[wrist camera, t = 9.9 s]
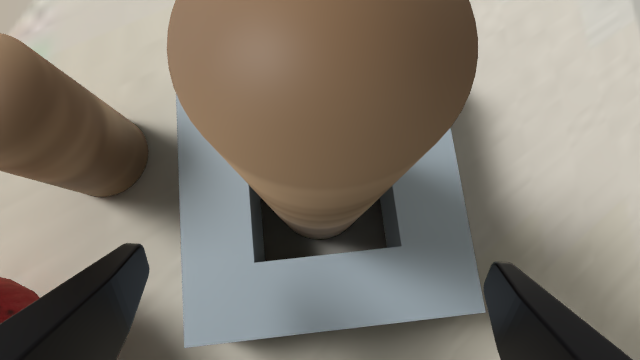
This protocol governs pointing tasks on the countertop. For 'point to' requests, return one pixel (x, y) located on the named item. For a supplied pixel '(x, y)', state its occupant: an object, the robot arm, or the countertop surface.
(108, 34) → the countertop surface
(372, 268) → the collar block
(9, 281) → the onion
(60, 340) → the robot arm
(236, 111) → the walnut peg long
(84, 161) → the walnut peg short
